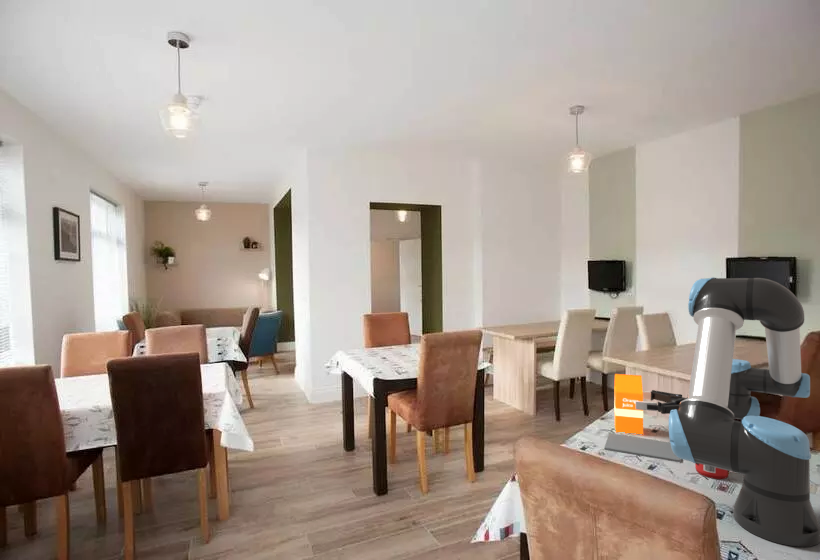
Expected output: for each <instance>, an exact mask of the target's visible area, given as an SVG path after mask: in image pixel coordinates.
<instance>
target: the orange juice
mask: <svg viewBox="0 0 820 560" xmlns="http://www.w3.org/2000/svg"><path fill="white" fill-rule="evenodd" d="M613 389H614V390H613V391H614V392H613V393H614V395H613V397H614V401H613V403H614V404H613V405H614V410H613V411H614V431H615V430H616V431H615V433H617V432H625V433H624V434H627V433H636V434H643V435H644V410H637V409H636V401H643V402H644V399H643V391H644V390H643V379H642V375H640V374H639V375H638V374H622V373H621V374H620V373H614V386H613ZM636 434H635V435H636Z"/></svg>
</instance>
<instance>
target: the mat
mask: <svg viewBox="0 0 820 560" xmlns="http://www.w3.org/2000/svg"><path fill="white" fill-rule="evenodd" d="M604 450H606V451H611V452H612V451H613V452H617V453H623V454H628V455H633V456H635V455H636V456H640V457H647V458H653V459H659V460H664V461H671V462H676V463H681V460H682V459H680V458H678V457H677V456H676V455H675V454H674V453H673V451H672V448H671V444H670V441H662V440H657V439H648V438H643V437H636V436H630V435H623V434H618V433H608V436H607V439H606V441H605V445H604Z"/></svg>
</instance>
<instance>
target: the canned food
mask: <svg viewBox="0 0 820 560" xmlns="http://www.w3.org/2000/svg"><path fill="white" fill-rule="evenodd" d="M694 465H695V470H696V472H697V473H698V474H699V475H701V476H703V477H706V478H710V479H714V480H715V479H716V480H725V479H728V477H729V475H730V471H728V470H724V469H720V468H715V467H711V466H707V465H703V464H698V463H694Z"/></svg>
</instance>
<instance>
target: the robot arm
mask: <svg viewBox="0 0 820 560" xmlns="http://www.w3.org/2000/svg"><path fill="white" fill-rule="evenodd" d="M688 300H689V301H688V303H687V304H688V306H687V308H688V313H689V316H690V317H692V318H693V321H694V323H695V324H696V325H697V333H696V341H695V347H694V354H693V359H692V368H691V374H690V380H689V384H688V385H689V386H688V392H687V393H688V394H687V397H683V394H681V393H680V394H678V393H672V392H665V391H659V390H656V389H655V390H654V389H652V390H651V391H646V390H645V391H644V390H643V401H636V409H637V410H643V411H653V412H659V413H661V414H662V415H666V414H667V415H668V414H669V415H668V437H669V442H670V444H671V448H672V451H673V453H674V454H675V455H676V456H677V457H678V458H680V459H681V460H684V461H688V462H690V463H692V464H695V463H698V464H703V465H707V466H711V467H715V468H720V469H724V470H728V471H729V472H732V473H738V474H741V475H742V486H741V488H740V490H739V492H738V495H737V497H736V500H735V502H734V505H733V519H734V521H735V522H736V523H737V524H738V525H739V526H741V528H743V529H744V530H746V531H748V532H749V533H751V534H753V535H755V536H757V537H760V538H761V539H765V540H767V541H771V542H773V543H777V544H782V545H785V546H791V547H800V548H802V547H803V548H804V547H806V548H808V547H813V546H817V545H818V544H819V543H820V522H819V521H818V518H817V515H816V513H815V510H814V508H813V505H812V502H811V495H810V494H811V493H810V492H811V485H810V483H811V481H810V479H811V477H810V476H811V475H810V470H811V467H810V460H811V459H812V453H811V449H810V448H811V447H810V440H809V437H808V435H807V434H806V433H805V432H804V431H802V430H801V429H799V428H797V427H796V426H794V425H792V424H789V423H788V422H787V423H786V422H785V421H782V420H778V419H774V418H770V417H766V416H761V415H760V414H761V407H760V403H759V400H758V399H757V397H755V396H751V392H756V393H757V392H758V393H765V394H771V395H779V396H785V397H790V398H801V399H802V398H803V399H804V398H805V399H806V398H809V397H810V395H811V376H810V375H809V374H808V373H803V372H802V356H801V350H802V349H801V333H800V331H801V328H802V326H803V325H804V324H805V310H804V308H803V305H802V303H801V302H800V301H799V299H798V298H797V296H796V295H795V294H794V293H793V292H792V290H790V289H788V288H787V287H785V286H784V285H783V284H781V283H779V282H777V281H775V280H771V279H768V278H762V277H753V278H752V277H750V278H748V277H740V278H739V277H735V278H733V277H731V278H724V277H723V278H722V277H721V278H720V277H719V278H717V277H714V276H712V277H709V278H705V277H704V278H700V279H697V280H696V281H694V283H693V284H692V286H691V288H690V291H689V295H688ZM745 321H759V323H760V324H761V326H762V327H764V333H765V340H766V343H765V344H766V351H767V361H768V369H766V368H757V367H752V363H751V362H750V361H749V360H746V359H744V360H743V359H737V358H734V351H735V341H736V334H737V333H736V331H737V330H740V329H741V328H742V327H743V326H744V323H745ZM644 400H649V401H644ZM654 400H656V401H657V402H655V401H654ZM652 401H653V402H652ZM736 419H737V420H736ZM739 420H740V421H739Z"/></svg>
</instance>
